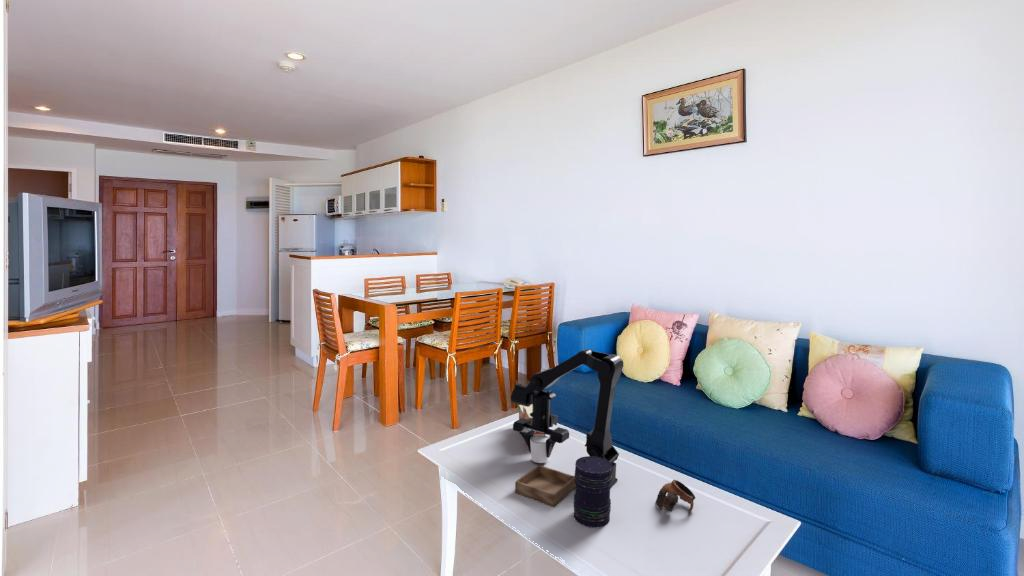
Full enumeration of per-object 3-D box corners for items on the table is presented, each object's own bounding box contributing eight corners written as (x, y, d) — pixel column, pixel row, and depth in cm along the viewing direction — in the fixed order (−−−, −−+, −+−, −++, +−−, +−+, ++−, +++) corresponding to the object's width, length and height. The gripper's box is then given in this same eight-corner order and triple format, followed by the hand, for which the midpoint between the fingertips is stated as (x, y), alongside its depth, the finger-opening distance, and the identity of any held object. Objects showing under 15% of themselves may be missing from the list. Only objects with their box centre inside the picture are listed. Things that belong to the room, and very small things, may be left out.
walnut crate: (576, 487, 149) (576, 476, 148) (554, 507, 138) (555, 495, 137) (538, 475, 156) (538, 464, 156) (515, 492, 145) (515, 481, 145)
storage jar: (617, 517, 134) (619, 464, 132) (597, 532, 126) (599, 477, 125) (586, 503, 140) (588, 452, 139) (565, 517, 133) (567, 464, 131)
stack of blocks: (518, 427, 195) (518, 397, 193) (533, 426, 196) (534, 396, 194) (528, 451, 174) (529, 417, 172) (545, 450, 175) (546, 416, 173)
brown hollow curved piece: (657, 496, 146) (673, 474, 145) (685, 520, 141) (701, 497, 140) (646, 504, 136) (663, 480, 135) (676, 530, 131) (694, 506, 130)
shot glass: (527, 461, 163) (527, 441, 162) (532, 453, 169) (532, 433, 169) (547, 465, 161) (548, 444, 160) (552, 456, 167) (552, 436, 167)
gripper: (577, 408, 165) (576, 453, 167) (529, 397, 175) (528, 439, 177) (561, 418, 156) (560, 465, 157) (512, 406, 166) (511, 450, 168)
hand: (539, 454), depth 165 cm, fingers closed on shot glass, 6 cm apart
